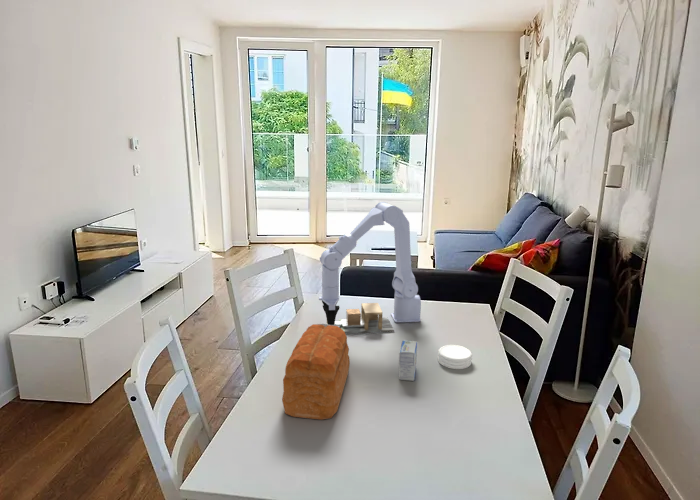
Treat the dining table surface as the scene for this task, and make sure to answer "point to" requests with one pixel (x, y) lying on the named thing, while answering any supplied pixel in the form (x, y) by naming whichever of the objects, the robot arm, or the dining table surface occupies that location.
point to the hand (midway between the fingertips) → (330, 321)
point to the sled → (351, 319)
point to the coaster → (454, 357)
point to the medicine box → (407, 360)
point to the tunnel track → (370, 321)
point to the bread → (316, 373)
